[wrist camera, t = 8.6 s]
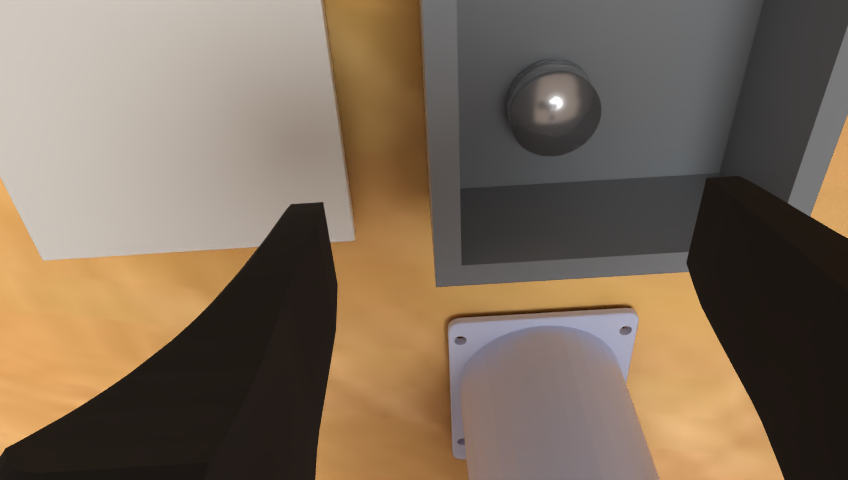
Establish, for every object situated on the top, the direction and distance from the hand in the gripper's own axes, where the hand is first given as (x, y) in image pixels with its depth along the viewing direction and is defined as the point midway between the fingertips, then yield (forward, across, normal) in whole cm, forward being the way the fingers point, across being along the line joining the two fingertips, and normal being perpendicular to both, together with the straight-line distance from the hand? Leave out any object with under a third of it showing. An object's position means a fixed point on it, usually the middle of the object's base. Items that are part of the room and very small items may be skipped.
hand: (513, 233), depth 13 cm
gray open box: (+10, -4, -1) cm, 11 cm away
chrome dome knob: (+10, -3, +2) cm, 10 cm away
